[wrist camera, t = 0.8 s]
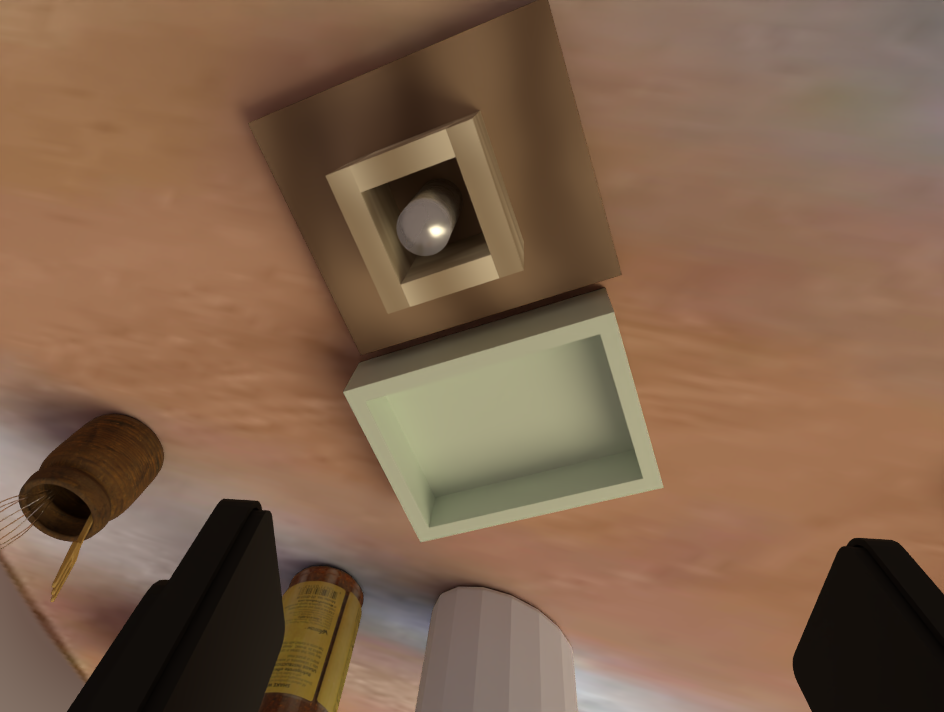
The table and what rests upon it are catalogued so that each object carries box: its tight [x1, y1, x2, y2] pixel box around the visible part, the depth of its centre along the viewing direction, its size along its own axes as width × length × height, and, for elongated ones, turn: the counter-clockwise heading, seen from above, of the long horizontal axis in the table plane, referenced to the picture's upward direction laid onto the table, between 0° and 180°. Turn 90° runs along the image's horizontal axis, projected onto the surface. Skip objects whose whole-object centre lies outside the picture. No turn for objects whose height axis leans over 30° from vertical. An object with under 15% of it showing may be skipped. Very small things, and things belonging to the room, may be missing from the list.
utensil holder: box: [0, 414, 164, 602], centre depth 37 cm, size 6×6×12 cm
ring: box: [326, 111, 524, 314], centre depth 29 cm, size 7×7×5 cm
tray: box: [343, 288, 664, 542], centre depth 37 cm, size 16×12×4 cm
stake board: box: [248, 0, 622, 355], centre depth 32 cm, size 16×14×2 cm
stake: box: [396, 178, 463, 256], centre depth 29 cm, size 2×2×6 cm
